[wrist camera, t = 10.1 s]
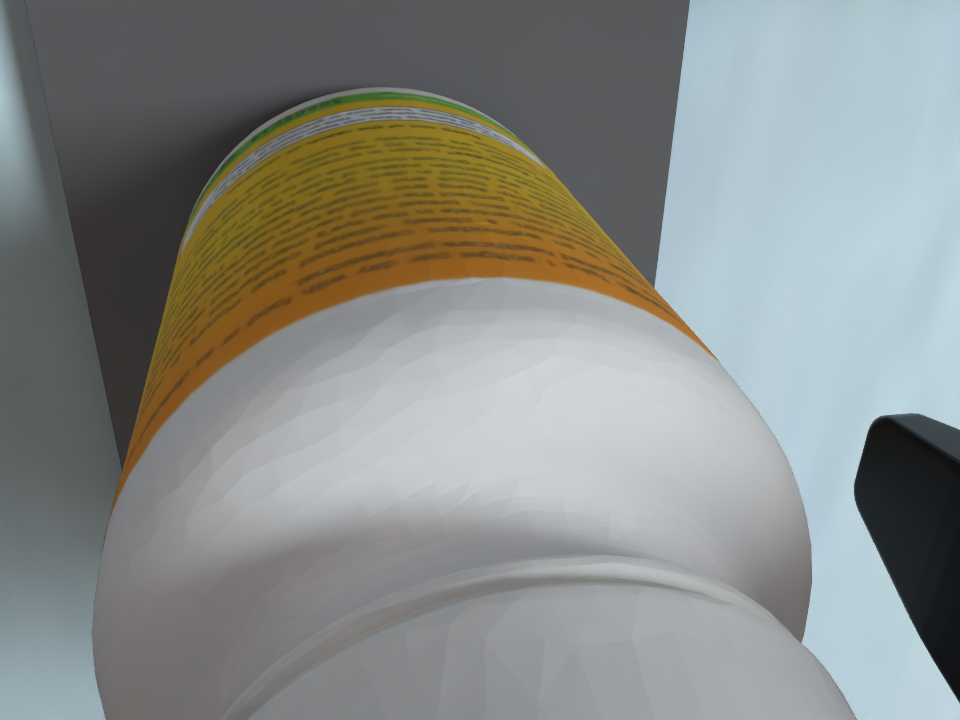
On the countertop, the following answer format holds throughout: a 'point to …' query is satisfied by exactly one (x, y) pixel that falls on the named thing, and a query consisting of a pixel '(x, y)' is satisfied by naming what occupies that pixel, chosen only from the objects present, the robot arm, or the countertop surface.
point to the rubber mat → (318, 72)
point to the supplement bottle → (439, 457)
